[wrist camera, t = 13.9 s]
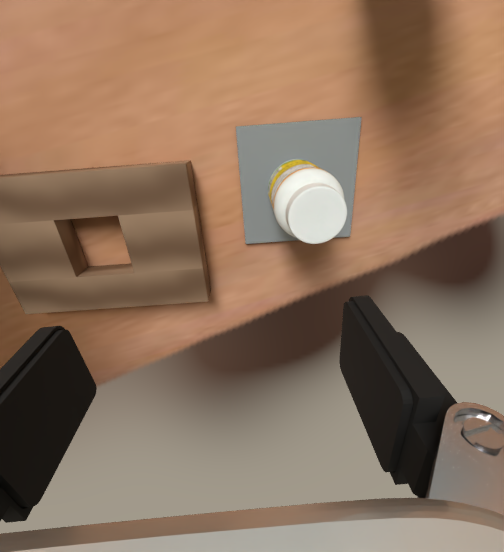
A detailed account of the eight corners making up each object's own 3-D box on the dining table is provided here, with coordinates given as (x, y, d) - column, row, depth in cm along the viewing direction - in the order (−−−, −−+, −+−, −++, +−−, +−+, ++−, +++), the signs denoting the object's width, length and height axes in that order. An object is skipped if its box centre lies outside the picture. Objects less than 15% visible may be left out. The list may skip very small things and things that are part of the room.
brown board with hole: (-21, 176, 27) (-45, 181, 25) (190, 160, 27) (185, 163, 25) (40, 301, 33) (25, 314, 31) (210, 289, 33) (208, 301, 31)
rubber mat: (236, 126, 26) (235, 126, 25) (359, 117, 25) (361, 117, 25) (245, 242, 31) (245, 243, 30) (348, 235, 30) (350, 236, 30)
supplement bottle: (261, 168, 27) (268, 188, 18) (317, 150, 26) (352, 162, 18) (275, 222, 29) (287, 261, 21) (327, 207, 29) (361, 241, 20)
